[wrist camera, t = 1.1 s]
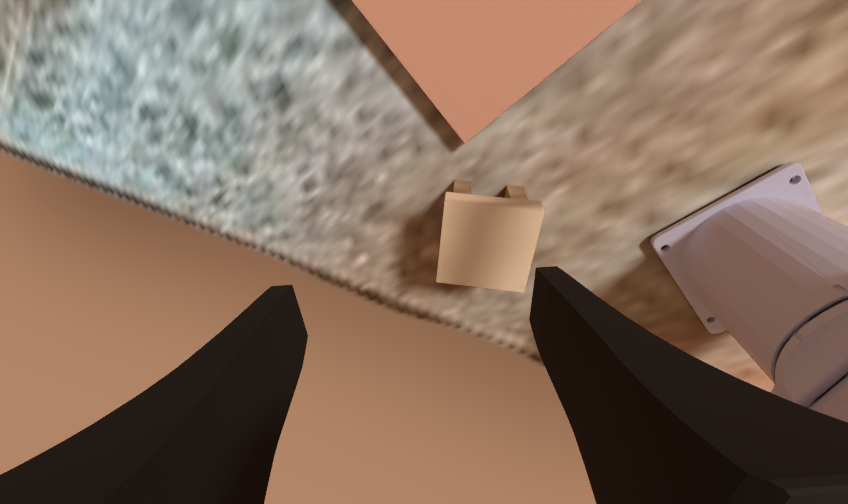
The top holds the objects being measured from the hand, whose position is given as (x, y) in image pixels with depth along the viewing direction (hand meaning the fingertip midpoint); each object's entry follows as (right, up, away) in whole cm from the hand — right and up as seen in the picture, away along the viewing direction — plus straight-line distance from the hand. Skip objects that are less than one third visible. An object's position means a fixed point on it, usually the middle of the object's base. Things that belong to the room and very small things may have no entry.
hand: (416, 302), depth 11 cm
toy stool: (+4, +4, +13) cm, 14 cm away
